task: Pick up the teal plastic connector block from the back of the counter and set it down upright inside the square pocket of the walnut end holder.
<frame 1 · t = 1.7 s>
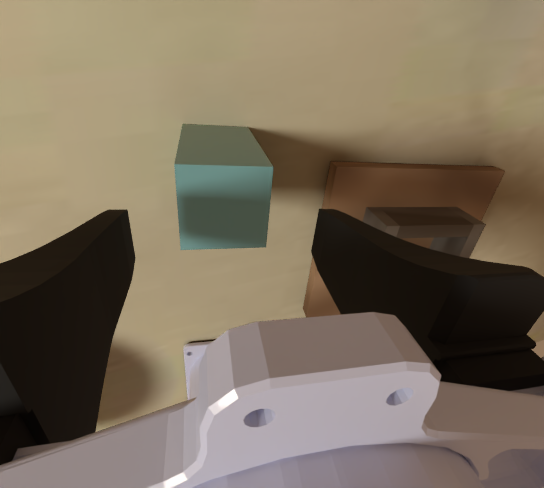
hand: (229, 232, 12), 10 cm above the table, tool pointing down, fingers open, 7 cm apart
end holder: (390, 242, 27), on the table
connector block: (216, 157, 20), on the table
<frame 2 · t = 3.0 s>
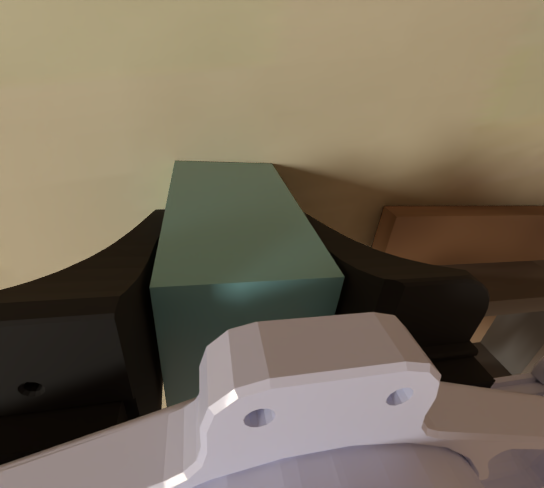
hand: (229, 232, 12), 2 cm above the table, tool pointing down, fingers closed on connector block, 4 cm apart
end holder: (449, 301, 21), on the table
connector block: (224, 206, 14), on the table, touching gripper
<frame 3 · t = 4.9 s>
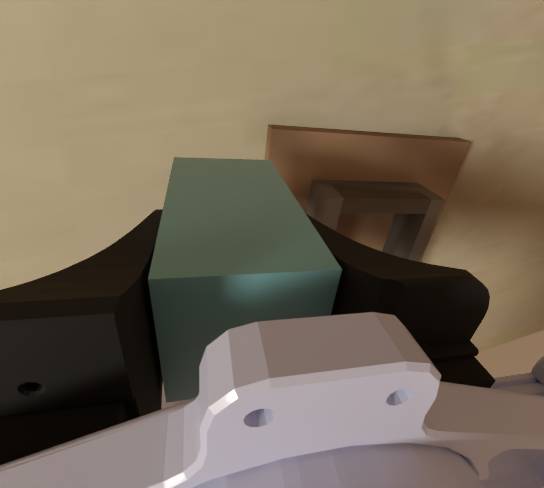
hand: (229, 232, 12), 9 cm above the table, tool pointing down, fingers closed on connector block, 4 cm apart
end holder: (346, 224, 24), on the table
connector block: (223, 202, 14), point 7 cm above the table, touching gripper
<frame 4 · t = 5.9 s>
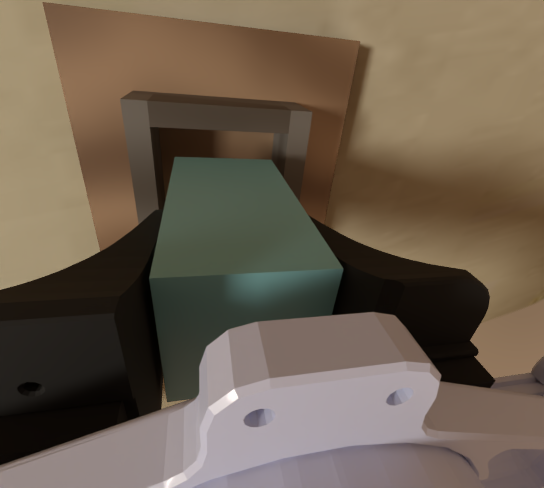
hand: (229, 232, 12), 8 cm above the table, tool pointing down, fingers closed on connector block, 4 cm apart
end holder: (217, 167, 19), on the table
connector block: (224, 202, 14), point 5 cm above the table, touching gripper
when the fingers open (5 cm above the table, at t = 6.8 s): connector block drops 1 cm, resting on end holder.
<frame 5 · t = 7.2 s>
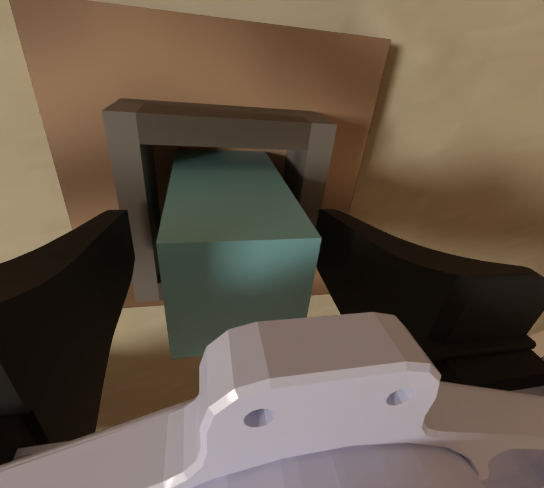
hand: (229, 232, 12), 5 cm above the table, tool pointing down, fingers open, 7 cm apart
end holder: (220, 184, 16), on the table
connector block: (222, 191, 15), point 1 cm above the table, touching end holder
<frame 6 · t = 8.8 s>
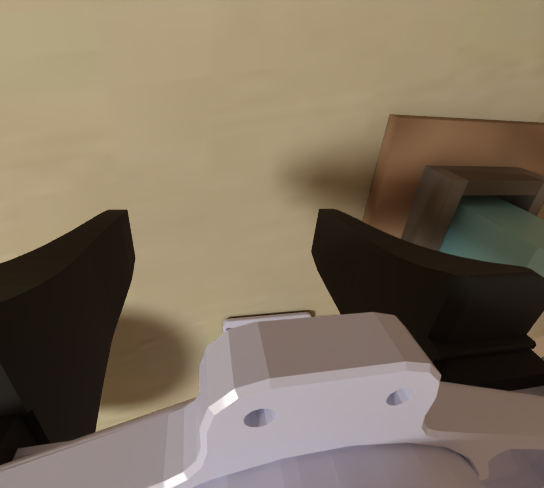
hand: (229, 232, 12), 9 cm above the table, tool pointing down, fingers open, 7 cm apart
end holder: (442, 209, 26), on the table
connector block: (453, 214, 25), point 1 cm above the table, touching end holder
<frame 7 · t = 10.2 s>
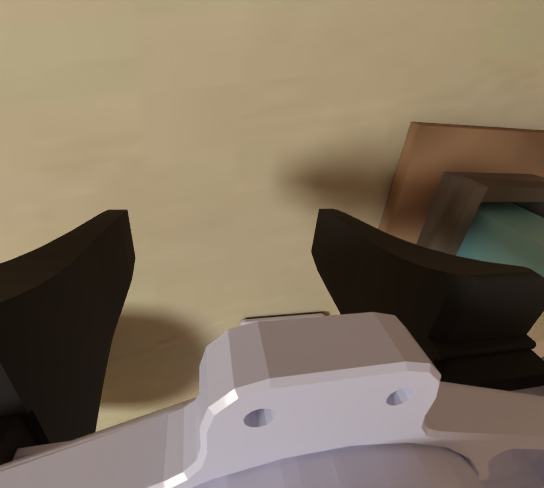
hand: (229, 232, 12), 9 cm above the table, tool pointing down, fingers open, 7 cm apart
end holder: (457, 214, 26), on the table
connector block: (468, 219, 25), point 1 cm above the table, touching end holder
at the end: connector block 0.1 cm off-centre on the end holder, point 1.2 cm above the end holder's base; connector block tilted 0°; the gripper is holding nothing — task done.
